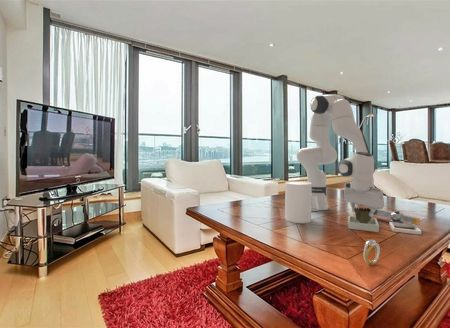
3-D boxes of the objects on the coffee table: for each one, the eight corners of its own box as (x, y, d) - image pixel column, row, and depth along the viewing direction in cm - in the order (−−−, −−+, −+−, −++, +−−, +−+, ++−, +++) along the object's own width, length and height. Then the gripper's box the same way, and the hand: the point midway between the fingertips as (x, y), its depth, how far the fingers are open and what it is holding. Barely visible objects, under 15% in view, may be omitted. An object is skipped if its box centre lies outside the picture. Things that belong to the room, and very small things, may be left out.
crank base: (391, 224, 122) (391, 220, 122) (389, 222, 126) (389, 218, 126) (404, 226, 119) (404, 222, 119) (402, 223, 124) (402, 219, 124)
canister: (283, 216, 141) (283, 181, 140) (307, 216, 140) (307, 181, 139) (287, 223, 127) (288, 184, 126) (314, 223, 127) (314, 184, 125)
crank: (422, 224, 115) (422, 215, 115) (413, 225, 113) (413, 216, 112) (376, 212, 136) (376, 205, 136) (368, 214, 134) (368, 206, 133)
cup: (374, 227, 115) (374, 210, 115) (357, 227, 117) (357, 210, 117) (369, 223, 122) (368, 207, 122) (353, 223, 124) (352, 207, 124)
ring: (374, 260, 84) (374, 237, 83) (383, 264, 81) (383, 240, 80) (359, 264, 81) (359, 240, 81) (368, 268, 78) (369, 243, 78)
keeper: (392, 231, 112) (392, 228, 112) (389, 225, 122) (389, 222, 122) (421, 234, 108) (421, 231, 108) (415, 227, 117) (415, 224, 117)
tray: (348, 228, 117) (348, 222, 117) (348, 221, 128) (348, 215, 128) (378, 232, 112) (378, 225, 111) (376, 224, 123) (376, 218, 123)
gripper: (388, 188, 110) (387, 219, 111) (351, 182, 129) (350, 208, 130) (377, 189, 108) (376, 220, 109) (341, 183, 127) (341, 209, 128)
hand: (362, 214), depth 120 cm, fingers open, 8 cm apart
